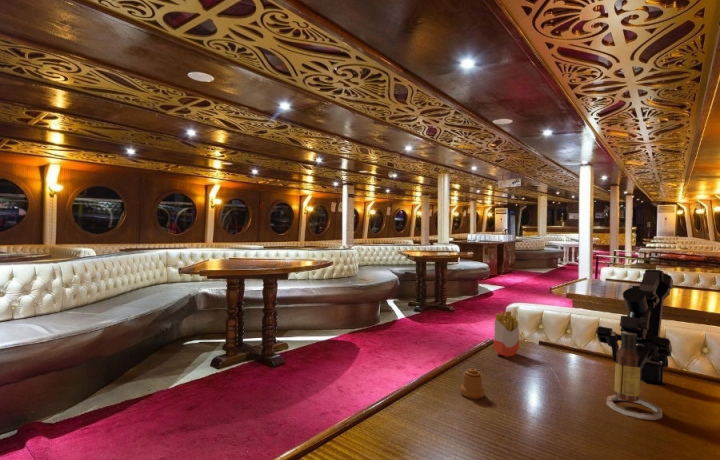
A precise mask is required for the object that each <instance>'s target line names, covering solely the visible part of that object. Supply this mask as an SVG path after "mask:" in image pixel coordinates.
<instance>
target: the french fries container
mask: <svg viewBox="0 0 720 460" xmlns="http://www.w3.org/2000/svg"><path fill="white" fill-rule="evenodd" d="M493 336H494V339H493V341H494V342H493V350H494V351H495V352H496V353H497V355H500V356H502V357H505V358H508V357H512V356H516V354H517V352H518V350H519V348H520V347H519V346H520V324H519V320H517V317H516V316H513V315H512V311H511V310H506V311H505V313H504V312H503V311H500V313H495V319H494V335H493Z"/></svg>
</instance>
